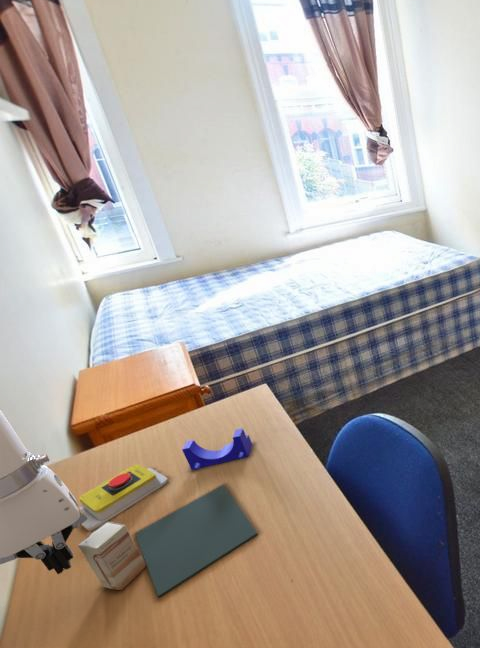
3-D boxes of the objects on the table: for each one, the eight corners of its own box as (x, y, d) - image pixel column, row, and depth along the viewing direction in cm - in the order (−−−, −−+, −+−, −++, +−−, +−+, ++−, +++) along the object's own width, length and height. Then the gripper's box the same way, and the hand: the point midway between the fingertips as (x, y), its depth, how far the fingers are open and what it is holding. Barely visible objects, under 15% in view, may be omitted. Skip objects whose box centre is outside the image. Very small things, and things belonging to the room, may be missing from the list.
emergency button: (162, 465, 103) (79, 515, 91) (170, 481, 104) (89, 532, 93) (142, 454, 107) (61, 500, 96) (150, 469, 109) (71, 516, 97)
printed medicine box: (121, 591, 80) (94, 550, 76) (102, 587, 81) (74, 546, 77) (149, 564, 84) (125, 523, 80) (130, 560, 85) (106, 520, 81)
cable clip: (252, 444, 114) (244, 424, 111) (248, 456, 110) (239, 436, 107) (198, 457, 111) (188, 437, 109) (191, 470, 107) (181, 449, 105)
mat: (158, 597, 78) (158, 596, 78) (135, 534, 91) (134, 533, 91) (257, 534, 88) (257, 532, 88) (224, 485, 101) (223, 484, 101)
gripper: (66, 442, 76) (116, 524, 83) (-70, 499, 66) (0, 586, 73) (70, 461, 71) (123, 547, 78) (-76, 526, 61) (0, 616, 68)
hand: (63, 565), depth 76 cm, fingers closed
